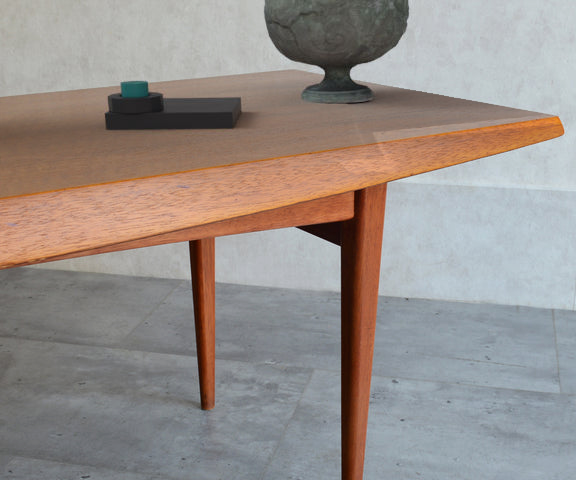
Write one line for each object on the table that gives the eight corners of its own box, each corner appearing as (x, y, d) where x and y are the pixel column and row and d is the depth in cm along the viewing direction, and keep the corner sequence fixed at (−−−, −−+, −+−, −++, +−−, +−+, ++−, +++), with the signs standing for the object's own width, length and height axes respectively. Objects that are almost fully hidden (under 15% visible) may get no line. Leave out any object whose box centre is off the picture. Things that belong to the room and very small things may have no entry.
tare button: (119, 100, 81) (117, 83, 80) (125, 96, 83) (123, 80, 83) (146, 100, 81) (144, 83, 80) (151, 96, 83) (150, 80, 83)
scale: (105, 131, 81) (101, 98, 79) (130, 114, 92) (127, 85, 91) (232, 130, 80) (231, 97, 79) (241, 112, 92) (240, 83, 90)
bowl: (359, 87, 115) (361, -17, 109) (433, 101, 98) (440, -20, 93) (242, 95, 107) (238, -16, 101) (301, 113, 91) (300, -19, 85)
